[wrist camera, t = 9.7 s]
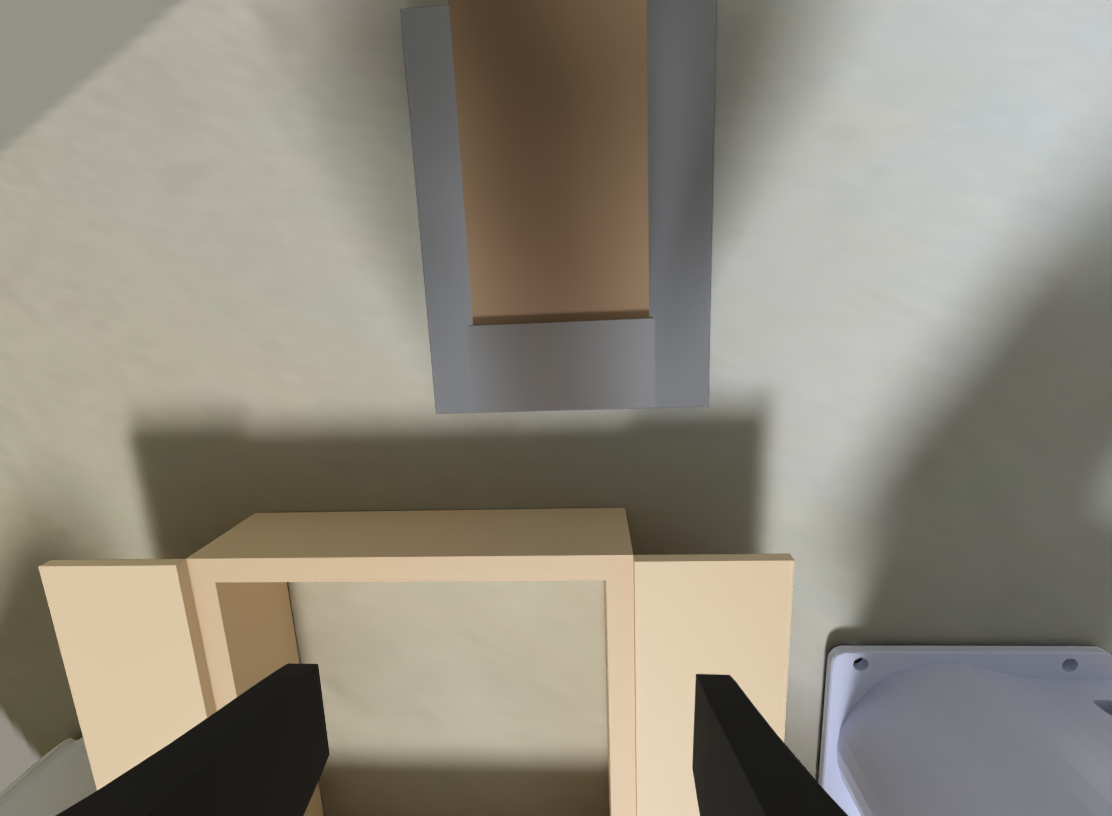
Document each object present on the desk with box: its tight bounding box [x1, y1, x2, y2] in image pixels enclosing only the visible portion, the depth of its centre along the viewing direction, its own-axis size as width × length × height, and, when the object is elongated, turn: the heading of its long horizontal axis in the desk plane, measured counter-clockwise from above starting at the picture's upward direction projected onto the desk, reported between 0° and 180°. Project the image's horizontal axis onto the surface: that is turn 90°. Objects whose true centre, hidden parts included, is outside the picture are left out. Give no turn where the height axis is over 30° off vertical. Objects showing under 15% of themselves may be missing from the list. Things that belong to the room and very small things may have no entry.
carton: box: [38, 508, 795, 816], centre depth 19 cm, size 22×15×4 cm, turn 92°
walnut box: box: [449, 0, 655, 413], centre depth 14 cm, size 4×9×5 cm, turn 2°
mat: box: [400, 0, 717, 414], centre depth 17 cm, size 9×12×1 cm
